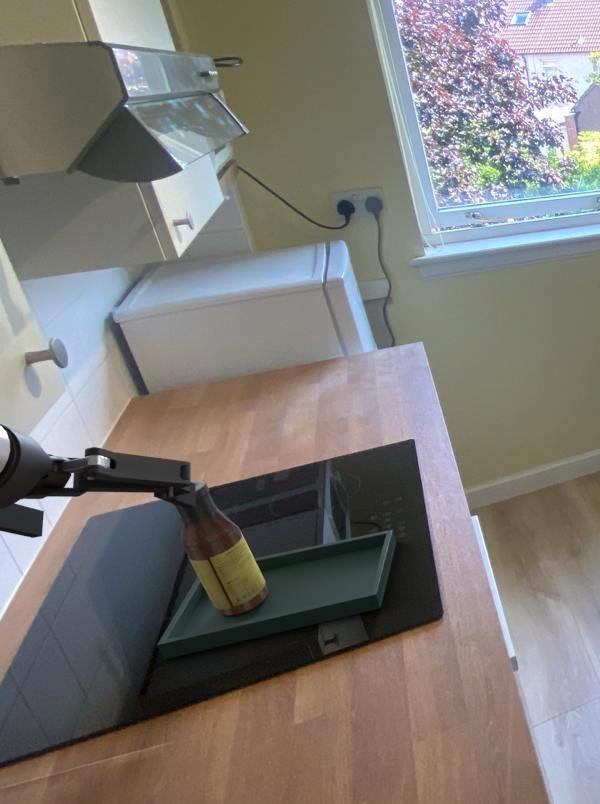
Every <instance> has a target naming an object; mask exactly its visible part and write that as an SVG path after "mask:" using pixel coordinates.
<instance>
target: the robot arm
mask: <svg viewBox="0 0 600 804" xmlns="http://www.w3.org/2000/svg"><path fill="white" fill-rule="evenodd" d="M191 464H192V463H191V461H186V460H178V459H169V458H164V457H155V456H148V455H139V454H131V453H124V452H116V451H112V450H109V449H105V448H103V447H97V446H93V447H87V448H85V449H84V457H64V456H55V455H53V454H52V453H51V454H50V453H47V452H46V451H45V450H44V448H43V447H42V446H41V444H40V443H39V442H38V441H37V440H36V439H35V438H33V437H32V436H31V435H29V434H27V433H25V432H22V431H20V430H17V429H15V428H12V427H10V426H7V425H4V424H2V423H0V532H4V533H9V534H13V535H18V536H22V537H27V538H31V539H35V538H40V537H43V531H44V529H43V528H44V514H45V510H41V509H37V508H34V507H30V506H25V505H22V504H19V503H17V502H19V501H21V500H43V499H45V498H48V497H50V498H51V497H52V498H53V497H55V498H57V497H59V498H60V497H61V498H62V497H63V498H76V497H77V498H78V497H81V496H83V495H84V494H86V493H138V494H139V493H142V494H143V493H145V494H149V493H150V494H153V498H156V499H159V500H162V501H165V502H168V503H170V504H172V503H173V504H176V505H179V506H181V507H184V508H187V509H188V508H193V507H195V490H196V484H195V483H193V482H191V481H192V480H191V478H192V477H191V474H192V473H191V469H192V468H191ZM72 474H73V481H72V487H66V485H67V484H68V482H69V481H70V479H71V477H72ZM173 504H172V505H173Z"/></svg>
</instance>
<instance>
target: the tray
mask: <svg viewBox="0 0 600 804" xmlns="http://www.w3.org/2000/svg"><path fill="white" fill-rule="evenodd" d="M396 547H397V540H396V537H395V534H394V530H393V529H388V530H384V531H379V532H374V533H370V534H364V535H360V536H355V537H351V538H346V539H341V540H336V541H331V542H327V543H322V544H317V545H312V546H308V547H301V548H298V549H293V550H288V551H283V552H278V553H274V554H269V555H264V556H259V557H254V559H255V561H256V563H257V565H258V567H259V569H260V571H261V573H262V575H263V578H264V580H265V585H266V587H267V589H268V594H267V596H266V598H265V599H264V601H263V602H262V603H260V604H259V605H258V606H257V607H255V608H254V609H252V610H250V611H247V612H245V613H242V614H240V615H231V616H223V615H221V614H220V613H219V611H218V609H217V608H216V607H214V605H213V603H212V601H211V600H210V598H209V596H208V594H207V592H206V590H205V588H204V586H203V585H202V583H201V581H200V579H199V577H198V576H197V577H196V579H195V580H194V582H193V584H192V586H191V587H190V588H189V590H188V592H187V594H186V595H185V597H184V598H183V600H182V602H181V604H180V605H179V607H178V609H177V611H176V612H175V614H174V615H173V617H172V619H171V621H170V622H169V624H168V626H167V628H166V629H165V631H164V633H163V634H162V636H161V638H160V639H159V641H158V643H157V648H158V650H159V651H160V654H161V655H162V657H163V659H164V660H169V659H174V658H177V657H182V656H186V655H189V654H190V655H191V654H194V653H199V652H202V651H207V650H212V649H216V648H219V647H220V648H221V647H223V646H228V645H232V644H237V643H242V642H246V641H249V640H253V639H254V640H255V639H259V638H262V637H267V636H271V635H274V634H279V633H283V632H287V631H291V630H295V629H300V628H305V627H309V626H313V625H316V624H317V625H318V624H321V623H325V622H329V621H335V620H338V619H343V618H346V617H351V616H355V615H359V614H364V613H367V612H372V611H376V610H380V609H382V605H383V601H384V596H385V592H386V589H387V584H388V580H389V576H390V571H391V568H392V564H393V559H394V555H395V550H396Z"/></svg>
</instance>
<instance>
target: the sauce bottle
mask: <svg viewBox="0 0 600 804" xmlns="http://www.w3.org/2000/svg"><path fill="white" fill-rule="evenodd" d="M190 481H191V482H193V483H195V484H196V490H195V507H193V508H188V509H187V508H184V507H181V506H179V505H176V504H173V503H171V504H172V505H173V506H174V507H175V509H176V511H177V512H178V515H179V516H180V520H181V522H182V525H181V529H180V542H181V546H182V547H183V548H184V550H185V552H186V554H187V558H188V560H189V562H190V565H192V567H193V570H194V572H195V573H196V575H197V577H199V579H200V581H201V583H202V585H203V586H204V588H205V590H206V592H207V594H208V596H209V598H210V600H211V601H212V603H213V605H214V607H216V608H217V609H218V611H219V613H220V614H221V615H223V616H231V615H240V614H242V613H245V612H247V611H250V610H252V609H254V608H255V607H257V606H258V605H259V604H260V603H262V602H263V601H264V599H265V598H266V596H267V594H268V589H267V587H266V585H265V580H264V578H263V575H262V573H261V571H260V569H259V567H258V565H257V563H256V561H255V559H254V558H255V557H254V555H253V553H252V551H251V549H250V547H249V545H248V543H247V541H246V539H245V537H244V535H243V533H242V531H241V529H240V527H239V526H238V525H237V524H235V523H234V522H233V521H232V520H231V519H230V518H229V517H228V516H227V515H226V514H224V513H223V511H221V510H220V509H219V508H218V507H217V505H216V504H215V502H214V500H213V498H212V497H211V494H210V487H209V486H208V484H207V483H206V482H205V481H204V480H198V479H196V480H190Z"/></svg>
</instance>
